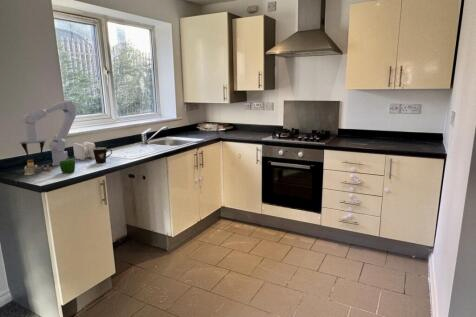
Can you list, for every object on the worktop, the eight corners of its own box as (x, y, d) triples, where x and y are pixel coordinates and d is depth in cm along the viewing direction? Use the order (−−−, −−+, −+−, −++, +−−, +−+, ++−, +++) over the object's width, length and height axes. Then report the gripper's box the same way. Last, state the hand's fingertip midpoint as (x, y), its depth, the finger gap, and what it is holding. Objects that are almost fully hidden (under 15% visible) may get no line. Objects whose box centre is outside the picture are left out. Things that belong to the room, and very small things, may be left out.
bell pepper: (69, 175, 192) (67, 159, 190) (57, 174, 194) (55, 158, 192) (79, 172, 200) (77, 156, 198) (68, 171, 202) (66, 155, 200)
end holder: (37, 169, 204) (37, 164, 203) (37, 171, 198) (36, 167, 198) (25, 170, 201) (25, 166, 200) (25, 173, 195) (24, 168, 195)
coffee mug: (92, 164, 220) (91, 149, 218) (96, 161, 229) (94, 147, 227) (110, 163, 222) (109, 149, 220) (113, 160, 231) (112, 147, 228)
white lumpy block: (73, 158, 239) (71, 142, 236) (87, 155, 247) (86, 141, 244) (83, 161, 229) (81, 145, 227) (97, 158, 237) (95, 143, 235)
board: (51, 167, 210) (51, 166, 210) (51, 173, 197) (51, 172, 197) (26, 170, 204) (26, 169, 204) (24, 176, 191) (24, 175, 191)
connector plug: (34, 170, 202) (33, 159, 200) (34, 171, 199) (33, 160, 198) (28, 170, 200) (27, 159, 199) (28, 172, 197) (26, 160, 196)
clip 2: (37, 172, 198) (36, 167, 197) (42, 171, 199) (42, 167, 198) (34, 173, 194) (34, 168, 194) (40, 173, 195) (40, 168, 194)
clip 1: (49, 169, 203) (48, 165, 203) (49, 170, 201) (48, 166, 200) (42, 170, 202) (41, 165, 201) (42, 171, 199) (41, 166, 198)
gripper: (17, 134, 197) (20, 156, 200) (44, 133, 203) (47, 154, 206) (18, 133, 203) (21, 154, 206) (45, 132, 209) (47, 152, 212)
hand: (34, 154), depth 206 cm, fingers open, 7 cm apart
